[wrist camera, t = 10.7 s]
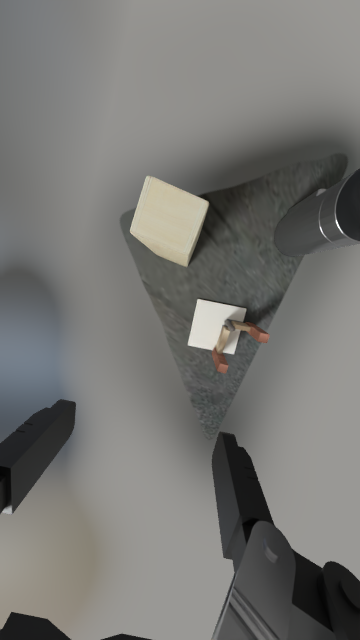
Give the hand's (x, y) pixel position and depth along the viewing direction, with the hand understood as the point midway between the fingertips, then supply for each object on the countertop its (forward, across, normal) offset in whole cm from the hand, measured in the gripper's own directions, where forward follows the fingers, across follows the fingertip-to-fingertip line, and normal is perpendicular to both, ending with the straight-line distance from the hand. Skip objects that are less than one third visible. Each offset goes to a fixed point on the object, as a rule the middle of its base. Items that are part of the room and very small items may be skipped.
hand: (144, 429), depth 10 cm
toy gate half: (+35, -12, +5) cm, 37 cm away
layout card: (+36, -10, +2) cm, 38 cm away
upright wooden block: (+36, +3, -15) cm, 39 cm away
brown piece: (+36, -15, 0) cm, 39 cm away
